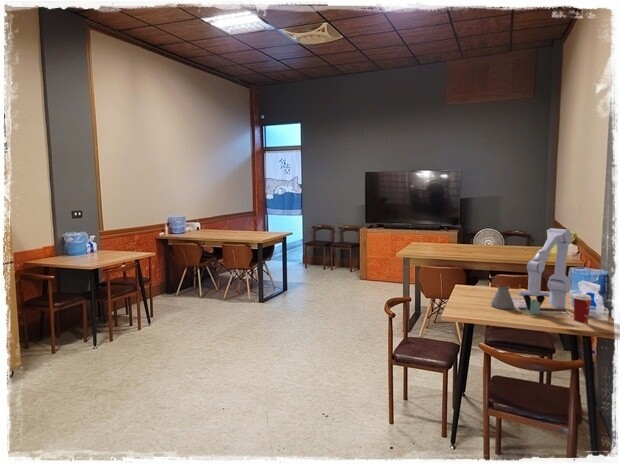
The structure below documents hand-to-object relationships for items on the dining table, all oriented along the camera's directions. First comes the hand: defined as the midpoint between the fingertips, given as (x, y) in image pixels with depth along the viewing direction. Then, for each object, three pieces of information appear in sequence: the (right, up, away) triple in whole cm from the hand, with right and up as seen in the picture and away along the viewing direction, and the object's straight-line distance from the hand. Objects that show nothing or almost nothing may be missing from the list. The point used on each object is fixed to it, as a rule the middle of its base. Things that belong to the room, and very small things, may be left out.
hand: (532, 309), depth 222 cm
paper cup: (+16, -5, -13) cm, 21 cm away
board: (+6, -3, -1) cm, 7 cm away
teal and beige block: (0, -1, 0) cm, 1 cm away
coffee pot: (-11, -1, +15) cm, 19 cm away
